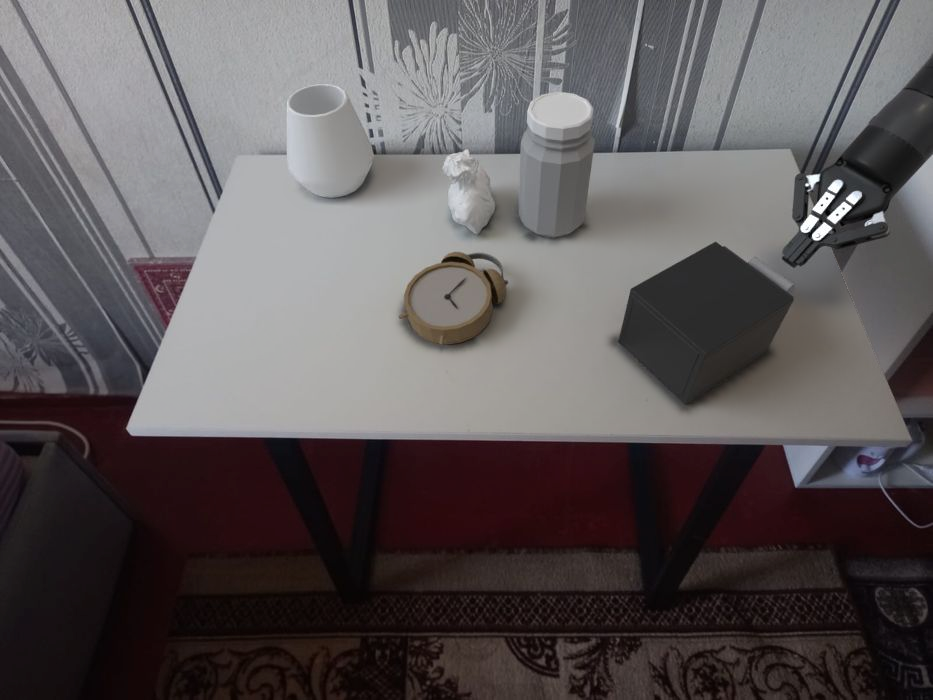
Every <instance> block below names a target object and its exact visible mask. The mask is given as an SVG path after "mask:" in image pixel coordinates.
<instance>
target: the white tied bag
mask: <svg viewBox="0 0 933 700" xmlns="http://www.w3.org/2000/svg"><path fill="white" fill-rule="evenodd" d="M441 168H442V169H441V170H442V172H443V173H444V175H446V176H447V177H448V178H449V179H450V181H451V182H452V183H451V184H450V185H449V186H448V190H447V194H448V195H447V196H448V197H447V198H448V199H447V205H448V208H449V210H450V213H451V218H452V219H453V221H454V222H455V223H457V224H458V225H461V226H463V227H466V228H467V229H468V230H469V231H470V232H472V233H473V234H474V235H479V234H480V233H481V231H482V230H483V228H485V227H486V226H488V224H489V221H490V219H491V218H492V216H493V214H494V213H495V209H496V204H495V200H494V197H493V195H492V187H491V179H490V175H488V173H487V171H486V170H485V168H483V166H482V165H480V163H479V160H478V159H476V158H475V157H474V156H471V152H470V150H469V149H467V148H466V149H464V150H463V151H458V152H454V153H451V154H448V155H447V156H446V158H445V160H444V162H443V166H442V167H441Z"/></svg>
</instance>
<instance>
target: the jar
mask: <svg viewBox="0 0 933 700" xmlns="http://www.w3.org/2000/svg"><path fill="white" fill-rule="evenodd" d="M594 110H595V108H594V107H593V105H592V104H591V102H590V101H589V99H587V98H584V97H582V96H580V95H578V94H576V93H574V92H563V91H554V92H549V93H543V94H540V95H538V96H537V97H536V98H533V100H531V101H530V103H529V105H528V108H527V111H526V124H527V127H526V129H525V131H524V133H523V135H522V138H521V141H520V151H519V152H520V154H519V155H520V156H519V158H520V159H519V183H518V184H519V185H518V212H517V213H518V216H519V218H520V221H521V222H522V223H521V224H522V225H523V226H524V227H525V228H527V229H528V230H529V231H531V232H533V233H535V235H537V236H539V237H547V238H553V239H554V238H558V237H564V236H568V235H569V234H571V233H572V232H574V231H575V230H576V229H578V228H579V227H581V225H583V224H584V219H585V215H586V209H587V202H588V195H589V187H590V181H591V175H592V174H591V173H592V165H593V157H594V151H595V145H596V144H595V143H596V140H595V138H594V137H593V136H592V133H591V132H592V123H593V119H594V118H593V117H594Z"/></svg>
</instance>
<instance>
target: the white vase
mask: <svg viewBox="0 0 933 700" xmlns="http://www.w3.org/2000/svg"><path fill="white" fill-rule="evenodd" d="M355 109H356V108H355V107H354V105H353V102H352V101H351V99H350V97H349V95H348V93H347V91H346V90H344V89H343V88H342V87H341V86H338V85H334V84H331V83H317V84H311V85H306V86H304V87H301V88H299V89H297V90H295V91H294V92H293V93H292V94H290V95H289V97H288V98H287V101H286V159H287V160H286V161H287V169H288V172H289V174H290V175H291V176H292V177H293V178H294V179H295V180H296V181H297V182H298V183H299V184H300V185H302V186H303V187H304V188H306V189H307V190H308V191H309V192H310V193H312V194H314V195H316V196H319V197H321V198H330V199H334V198H335V199H336V198H340V197H346V196H348V195H350V194H353V193H354V192H356V191H357V190H359V188H360V187H361V186H362V185H363V183H364V182H365V179H366V178H367V175H368V174H369V171H370V169H371V167H372V165H373V162H374V158H375V154H374V150H373V146H372V144H371V141H370V138H369V136H368V134H367V132H366V130H365V128H364V126H363V124H362V122H361V120H360V117H359V115H358V114H357V112H356V110H355Z"/></svg>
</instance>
